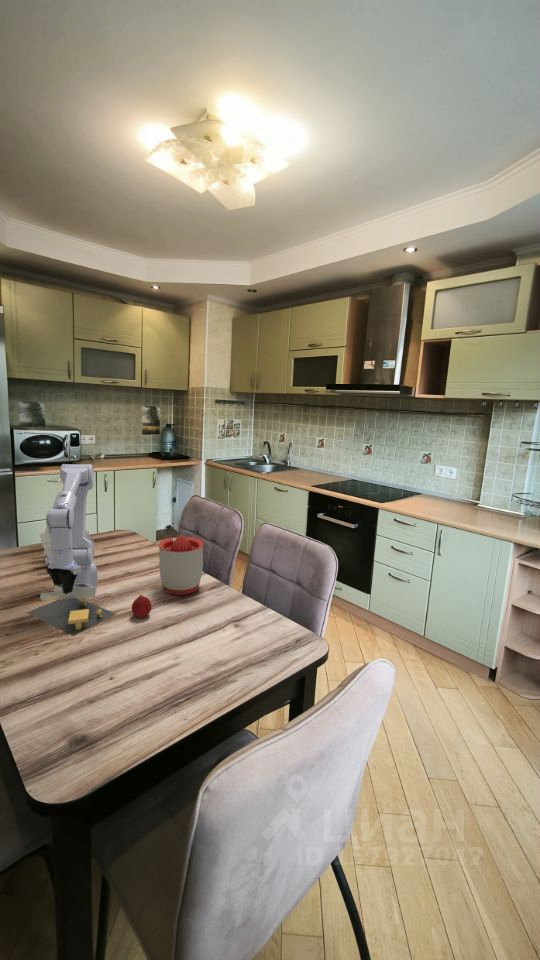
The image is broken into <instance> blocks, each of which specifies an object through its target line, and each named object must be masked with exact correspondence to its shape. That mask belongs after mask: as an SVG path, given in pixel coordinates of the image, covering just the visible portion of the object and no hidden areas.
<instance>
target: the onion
mask: <svg viewBox="0 0 540 960" xmlns="http://www.w3.org/2000/svg"><path fill="white" fill-rule="evenodd" d="M152 607H153V606H152V601H150V598H149V597H147V596H145V595H143V593H140V594H139V596H138V597H136V598H135V600H133V602H132V604H131V612H132V614H133V615H134V616H135V617H137V618H138V619H144V618H145V617H147V616H148V615H150V612H151V610H152Z"/></svg>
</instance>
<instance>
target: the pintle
mask: <svg viewBox="0 0 540 960" xmlns="http://www.w3.org/2000/svg"><path fill="white" fill-rule="evenodd" d="M86 601H87V598H81V599H79V607H85V606H86Z"/></svg>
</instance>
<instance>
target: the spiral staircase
mask: <svg viewBox="0 0 540 960" xmlns="http://www.w3.org/2000/svg"><path fill="white" fill-rule="evenodd" d="M91 534H92V533H91ZM91 534H90V531H89V530H87V529H86V528H85V538H86V539H88V540H89V541H91V542H92V544H93V551H94V552H95V549H94V548H95V547H94V546H95V545H96V542H94V540H93V539H92V538H91ZM39 537H40V542H41V543H42V544H41V547H42V548H43V549H44V550H43V554H44V555H45V556H46V557H50V556H51V541H50V535H49V533H48V528H47V527H46V528H45V530H44V532H43V533H40V534H39ZM79 547H86V546H73V547H72V548H79ZM94 556H95V553H94Z"/></svg>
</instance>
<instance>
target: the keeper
mask: <svg viewBox="0 0 540 960" xmlns="http://www.w3.org/2000/svg"><path fill="white" fill-rule="evenodd" d="M88 616H89V609H85V610H76V611H70V615H69V620H68V624H74V623H75V628H76V630H81V629H82V624H81V623H82V622H88Z"/></svg>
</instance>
